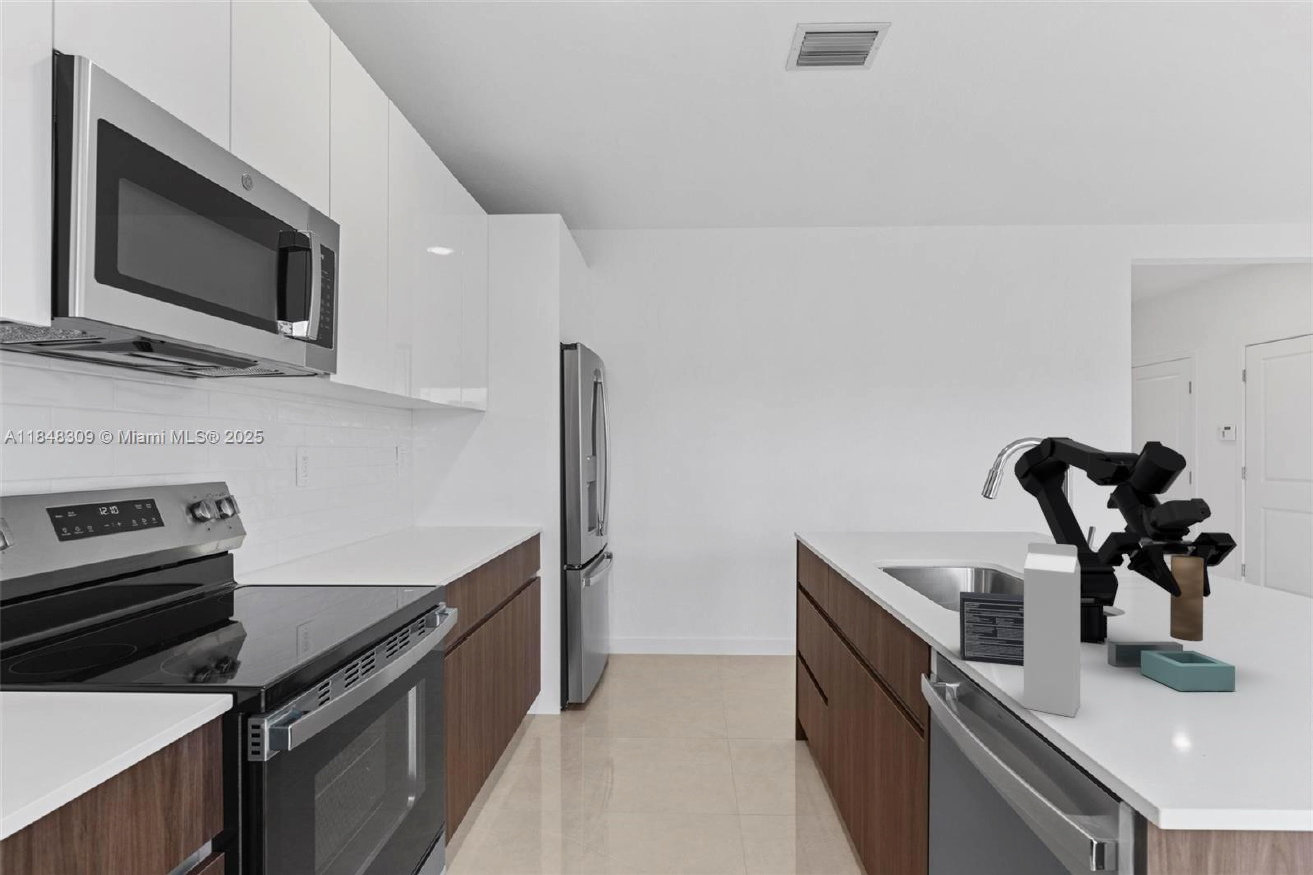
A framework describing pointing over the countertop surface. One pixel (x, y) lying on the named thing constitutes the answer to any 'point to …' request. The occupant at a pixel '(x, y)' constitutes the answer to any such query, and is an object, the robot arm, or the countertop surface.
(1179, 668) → the teal square frame
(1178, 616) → the dowel
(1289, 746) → the countertop surface
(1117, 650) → the bar
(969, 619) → the small box
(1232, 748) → the countertop surface
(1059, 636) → the milk
